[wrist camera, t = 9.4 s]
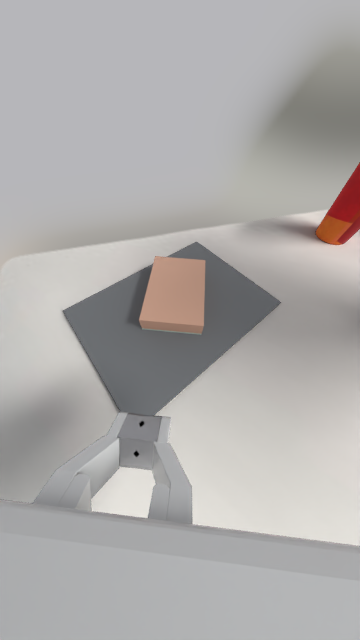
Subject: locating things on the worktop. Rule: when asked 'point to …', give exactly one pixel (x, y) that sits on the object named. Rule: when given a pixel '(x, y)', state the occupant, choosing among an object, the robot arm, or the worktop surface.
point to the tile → (175, 296)
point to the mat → (164, 333)
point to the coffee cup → (343, 214)
